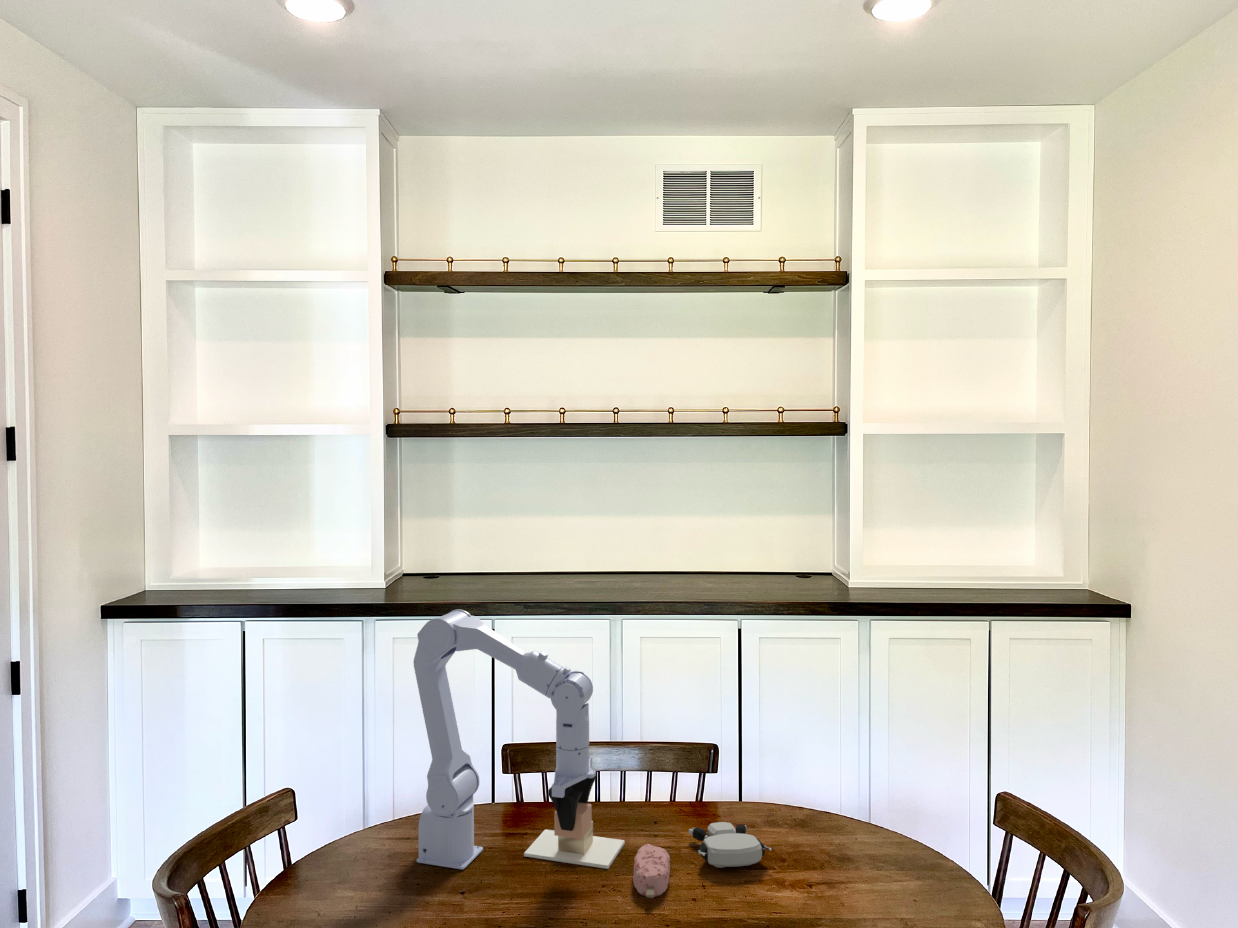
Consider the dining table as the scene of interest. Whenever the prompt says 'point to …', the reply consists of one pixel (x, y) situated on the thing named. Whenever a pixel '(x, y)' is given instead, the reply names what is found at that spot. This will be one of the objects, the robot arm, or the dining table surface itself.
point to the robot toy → (728, 845)
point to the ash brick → (576, 843)
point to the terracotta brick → (576, 822)
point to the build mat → (595, 856)
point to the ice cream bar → (651, 870)
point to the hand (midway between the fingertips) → (573, 822)
